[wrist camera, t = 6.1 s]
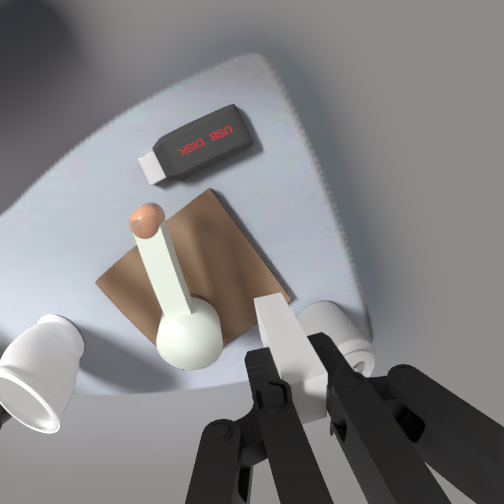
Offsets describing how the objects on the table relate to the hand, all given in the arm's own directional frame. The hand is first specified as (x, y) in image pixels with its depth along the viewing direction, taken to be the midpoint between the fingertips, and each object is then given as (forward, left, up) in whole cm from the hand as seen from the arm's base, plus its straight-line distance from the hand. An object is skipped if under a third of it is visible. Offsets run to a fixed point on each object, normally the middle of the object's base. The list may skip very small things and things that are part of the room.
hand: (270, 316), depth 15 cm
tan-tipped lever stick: (-7, +1, -13) cm, 15 cm away
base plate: (-8, -2, -19) cm, 21 cm away
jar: (-30, +4, -19) cm, 36 cm away
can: (+2, -17, -19) cm, 26 cm away
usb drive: (+2, +11, -19) cm, 22 cm away
